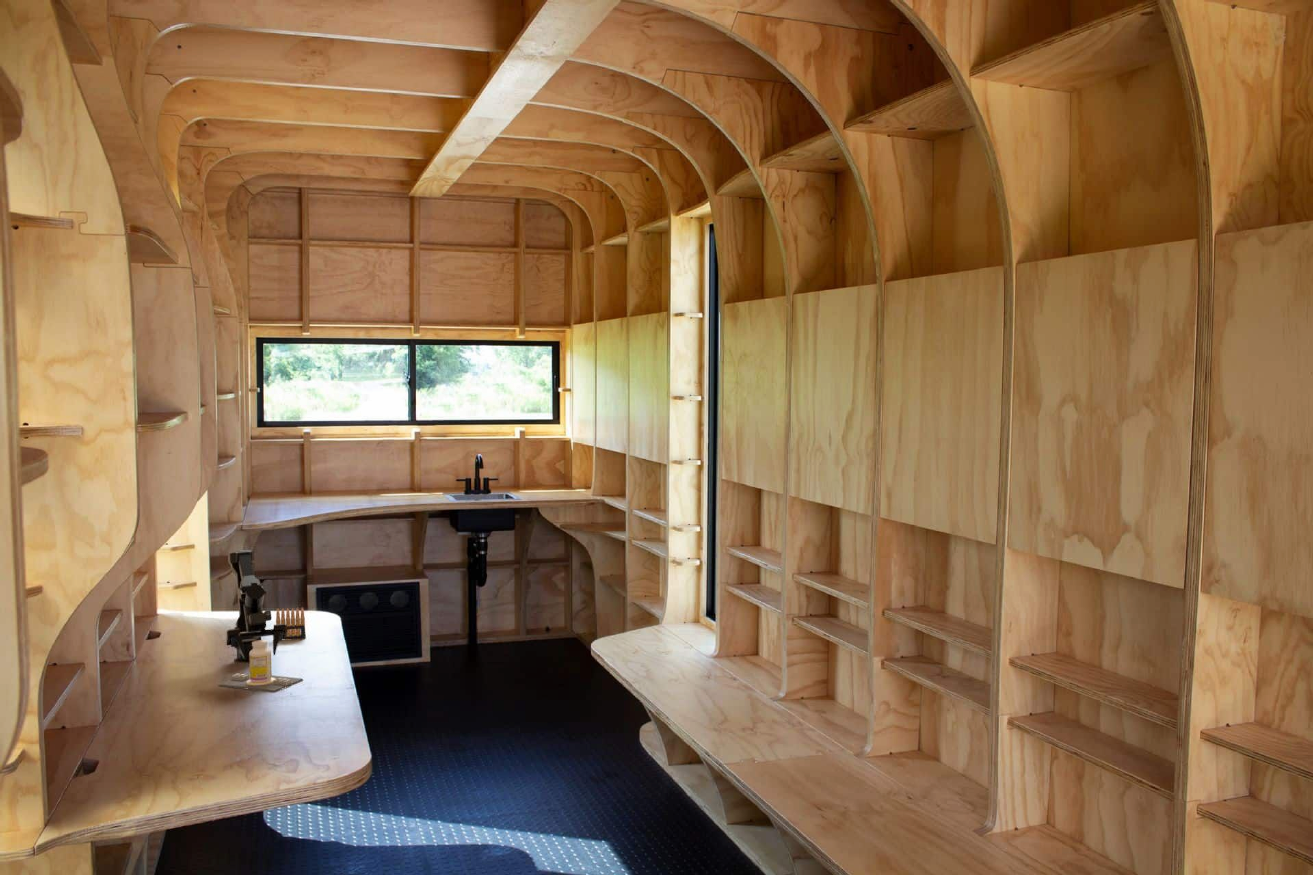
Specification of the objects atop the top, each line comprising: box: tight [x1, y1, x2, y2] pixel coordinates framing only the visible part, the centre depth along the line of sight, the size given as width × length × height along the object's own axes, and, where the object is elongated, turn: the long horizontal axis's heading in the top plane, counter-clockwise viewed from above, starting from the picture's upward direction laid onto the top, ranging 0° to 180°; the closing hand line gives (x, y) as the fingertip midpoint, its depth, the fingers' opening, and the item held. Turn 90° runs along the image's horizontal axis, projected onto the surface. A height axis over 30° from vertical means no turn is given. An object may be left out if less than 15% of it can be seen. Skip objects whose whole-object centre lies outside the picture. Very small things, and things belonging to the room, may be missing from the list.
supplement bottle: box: [249, 639, 273, 683], centre depth 360 cm, size 7×7×13 cm
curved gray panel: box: [218, 672, 304, 693], centre depth 361 cm, size 22×14×2 cm, turn 70°
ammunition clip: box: [275, 606, 307, 640], centre depth 420 cm, size 11×2×12 cm, turn 105°
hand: (259, 656), depth 361 cm, fingers open, 9 cm apart
